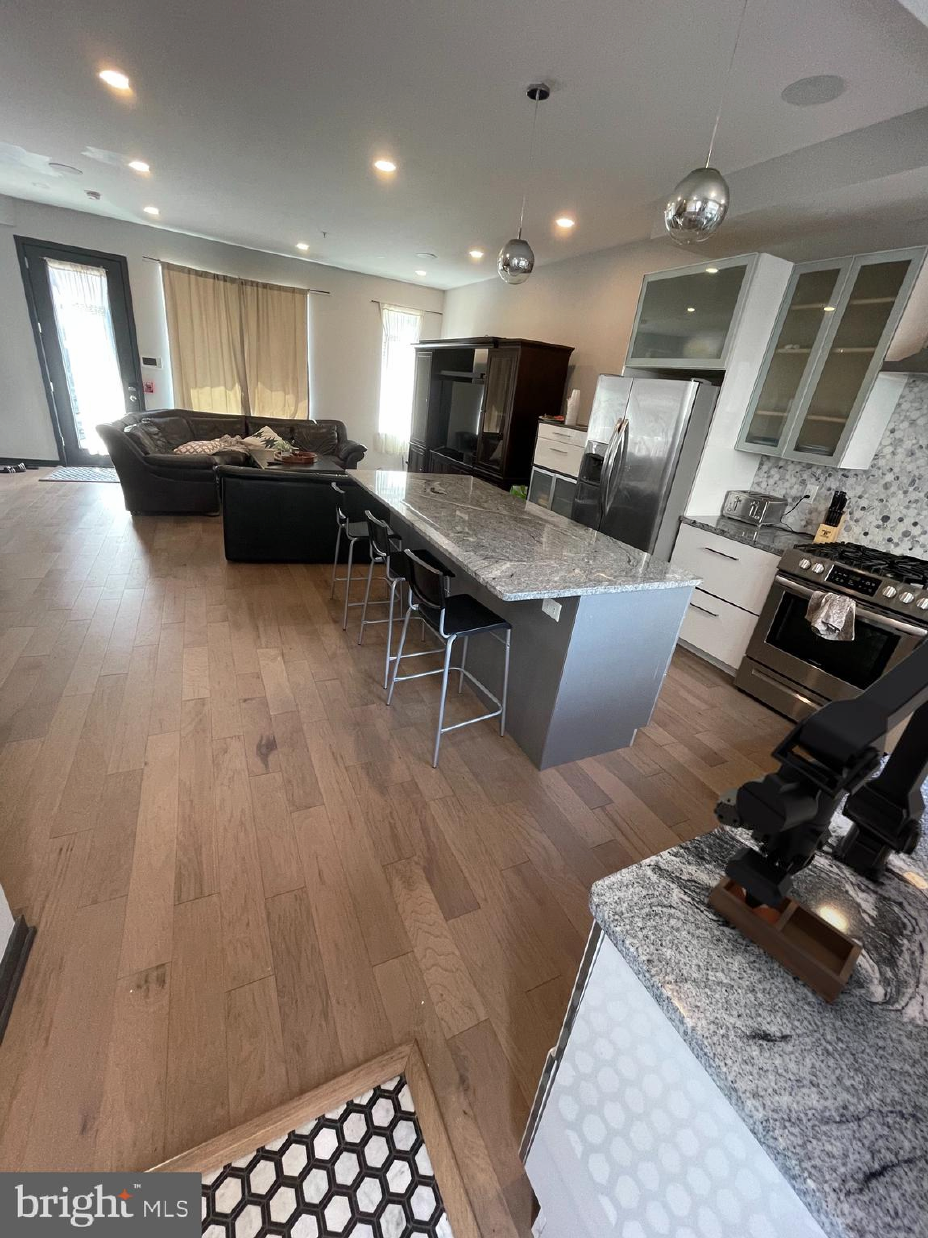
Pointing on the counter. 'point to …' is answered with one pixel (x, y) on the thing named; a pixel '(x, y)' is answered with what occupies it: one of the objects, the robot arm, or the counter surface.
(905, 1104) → the counter surface
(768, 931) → the egg rack
